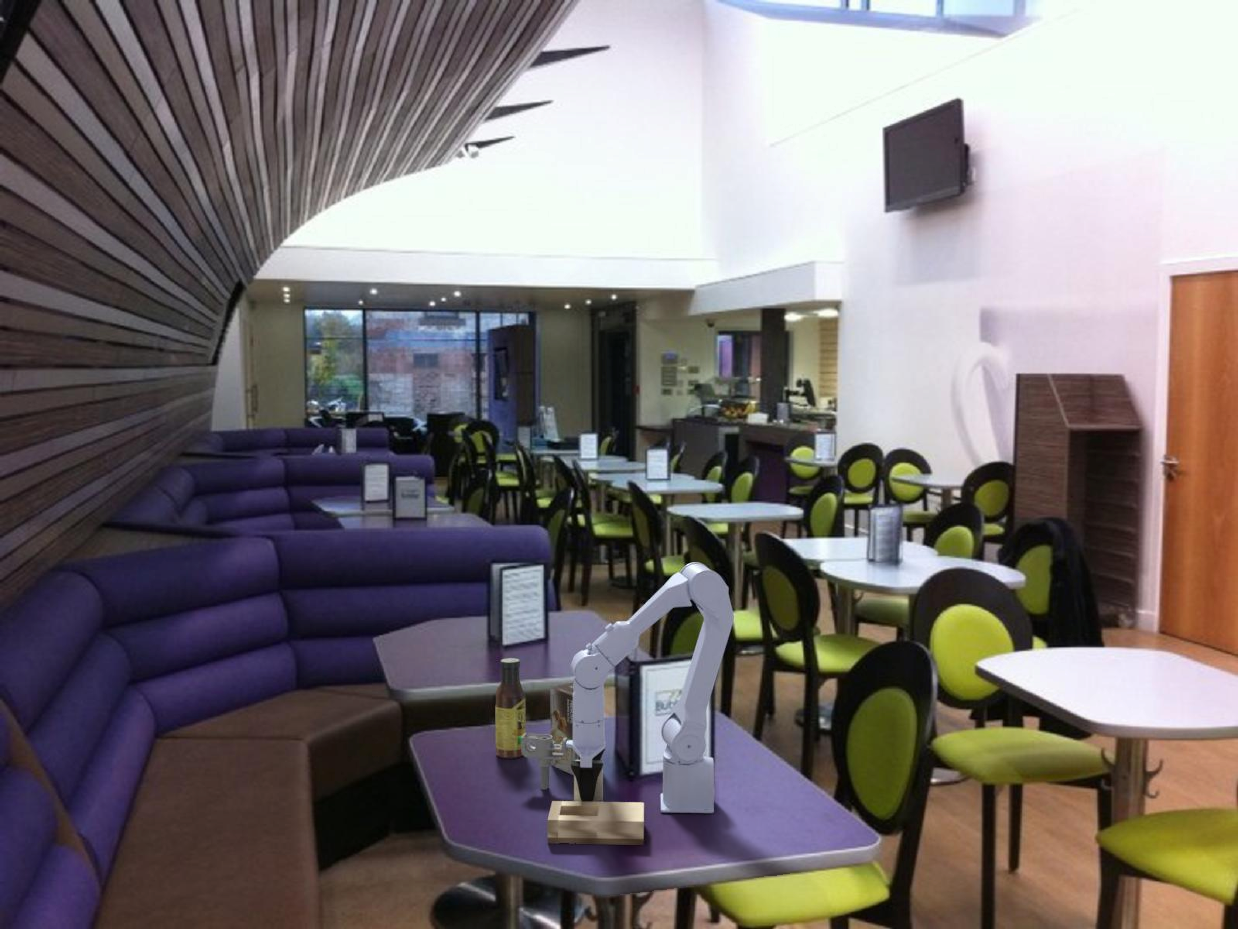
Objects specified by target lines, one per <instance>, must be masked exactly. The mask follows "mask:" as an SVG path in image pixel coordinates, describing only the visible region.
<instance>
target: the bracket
mask: <svg viewBox="0 0 1238 929" xmlns="http://www.w3.org/2000/svg"><path fill="white" fill-rule="evenodd" d="M575 761H580V760H575ZM592 761H593V763H603V764H604V760H602V759H601V760H592ZM603 779H604V767H603V768H602V770H601V772H600V774H599V776H598V779H597V783H596V789H595V795H594V799H593V802H604V799H603V798H604V795H603V794H604V788H603V787H604V780H603ZM573 801H580V802H582V801H581V798H580V794H579V789H578V784H577V780H576V777H575V775H573Z"/></svg>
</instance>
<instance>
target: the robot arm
mask: <svg viewBox="0 0 1238 929" xmlns="http://www.w3.org/2000/svg"><path fill="white" fill-rule="evenodd" d="M729 591H730V590H729V586H728V585H727V584H726V582H725V580H724V579H723V578H722V577H721V575H720V574H719V573H717V572H716V571H714V570H712V569H710V568H708V567H707V566H706V565H705V564H704V563H701V562H697V561H696V562H695V561H694V562H690V563H687V564H686V565H684V566H683V567H682V568H681V570H680V572H679V571H678V572H676V573H674V574H673V575H671V577H670V578H669V579H668V580H667V581H666V582H665V583H664V585H662V586H661V587H660V588H659V589H658V590H657V591H656V592H655V593H654V594H653V595H652V596H651V597H650V599H648V600H647V601H646V602H645V604H643V605H642V606H640V608H639V609H638V610H637V611H636V612H635V613H634V614H632V616H631V617H630V618H629V619H628V620H626V621H623V620H622V621H620V620H619V621H616V622H615V623H613V624H612V623H611V622H610V623H608V624H607V625H606V626H605V628H604V629H605V630H606V631H605V632H603V633H602V634H601V635H600V636H599V637H598V638H597V639H596V640H594V642H593V643H590V642H588V643H587V644H586V646H585V650H583V649H582V650H580V651H578V652H577V653H576V654H574V656H573V658H572V661H571V663H570V664H569V670H570V671H571V674H572V675H573V676H574V678H573V682H574V684H573V689H574V692H573V740H568V741H567V742H566V747H567V748H572V749H573V750H574V751H575V752H576V753H577V755H578V758H579V760H580V761H571V769H572V771H573V773H574V775H575V777H576V780H577V784H578V789H579V794H580V798H581V801H582V802H593V799H594V795H595V789H596V783H597V779H598V776H599V774H600V772H601V770H602V768H603V769H604V762H603V763H593V761H592V760H602V757H603V754H604V752H605V751H606V744H607V743H606V741H605V740H606V739H605V737H606V736H605V735H606V734H605V733H606V732H605V729H606V728H605V724H606V723H605V713H606V712H605V709H606V708H605V706H606V705H605V703H606V702H605V700H606V699H605V692H604V691H605V684H604V683H606V681H607V679H608V675H609V671H610V670H612V669H614V668H615V667H616V666H617V665H618V664H619V663H621V661H623V660H624V659H625V658H626V657H627V656H628V655H629V654H631V652H633V651H634V650H636V648H637V647H638V646H639V642H640V635H642V634H643V633H645V631H646V630H648V629H649V628H650V627H651V626H653V625H654V624H656V622H658V621H659V620H660V619H661V618H663V617H664V616H665V615H667V613H669V612H670V611H671V610H673V608H674V609H675V608H684V607H692V606H693V604H692V602H691V601H693V603H695V605H696V608H697V609H698V610H699V612H700V614H701V616H702V618H703V621H702V625H701V629H700V632H699V634H698V638H697V641H696V645H695V648H694V651H693V654H692V658H691V660H690V664H689V668H688V670H687V674H686V678H685V680H684V684H683V687H682V690H681V693H680V695H679V696H680V697H679V699H678V701H677V702H676V703H675V704H674V705H673V706H672V709H671V712H670V715H669V716H668V717H667V718H666V719H665V720H664V721H663V723H662V725H661V730H660V731H661V732H660V734H661V738H662V740H663V741H664V742H665V744H666V746H665V750H664V751H663V756H662V757H663V758H662V793H660V812H661V813H670V814H671V813H675V814H677V813H680V814H681V813H682V814H686V813H687V814H688V813H690V814H713V813H714V812H715V808H714V807H715V804H714V803H715V802H714V801H715V799H716V788H715V762H714V758H713V757H711V756H705V755H704V754H705V752H706V747H707V746H706V745H707V743H706V738H705V737H706V730H707V726H708V725H707V710H708V707H709V706H708V705H709V702H710V699H711V695H712V693H713V689H714V686H715V684H716V680H717V675H718V672H719V670H720V666H721V663H722V660H723V657H724V655H725V654H724V653H725V650H726V647H727V644H728V640H729V637H730V633H731V630H732V628H733V624H734V619H735V614H734V611H733V607H732V604H731V600H730V594H729ZM574 775H573V776H574Z"/></svg>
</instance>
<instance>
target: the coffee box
mask: <svg viewBox="0 0 1238 929" xmlns="http://www.w3.org/2000/svg"><path fill="white" fill-rule="evenodd" d="M573 684H574V681H573V682H568V683H564V684H560V685H559V684H558V685H557V686H553V687H549V692H550V694H549V695H550V698H549V700H550V703H549V704H550V705H549V707H550V735H552V736H553V740H554V741H555V743H554V744H561V742H562V741H563V738H568V739H570V740H573V692H574V689H573ZM553 753H563V751H558V750H553ZM575 760H579V758H578V755H577V753H576V752H575V751H574V750H573V749H572V748H568V752H567V754H566V755H565V757H564V758H563V759H561V760H555V759H551V763H552V765H551V766H552V767H554V768H557V769H558V768H559V770H560V771H563V772H566V773H568V774H570V775H572V776H574V773H573V771H572V769H571V761H575Z"/></svg>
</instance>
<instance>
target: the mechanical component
mask: <svg viewBox="0 0 1238 929" xmlns="http://www.w3.org/2000/svg"><path fill="white" fill-rule="evenodd" d="M568 740H570V739H568V738H563V741H562V742H561V744H554V743H555V741H554V740H553V736H552V735H551V734H549V733H547V734H546V733H544V734H543V733H542V734H541V733H530V732H529V733H527V732H526V733H524V734H523V736H518V744H521V751H522V754H523V755H522V756H523V757H525V758H531V759H538V763H537V765H538V766H539V768H540V790H544V791H545V790H546V791H547V790H548V788H550V767H551V766H552V763H551V759H555V760H561V759H563V758H564V757H565V755H566V754H567V752H568V748H567V747H566V742H567V741H568ZM531 743H533V744H534V745H535V746H533V745H532V744H531ZM553 750H558V751H563V753H553Z"/></svg>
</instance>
